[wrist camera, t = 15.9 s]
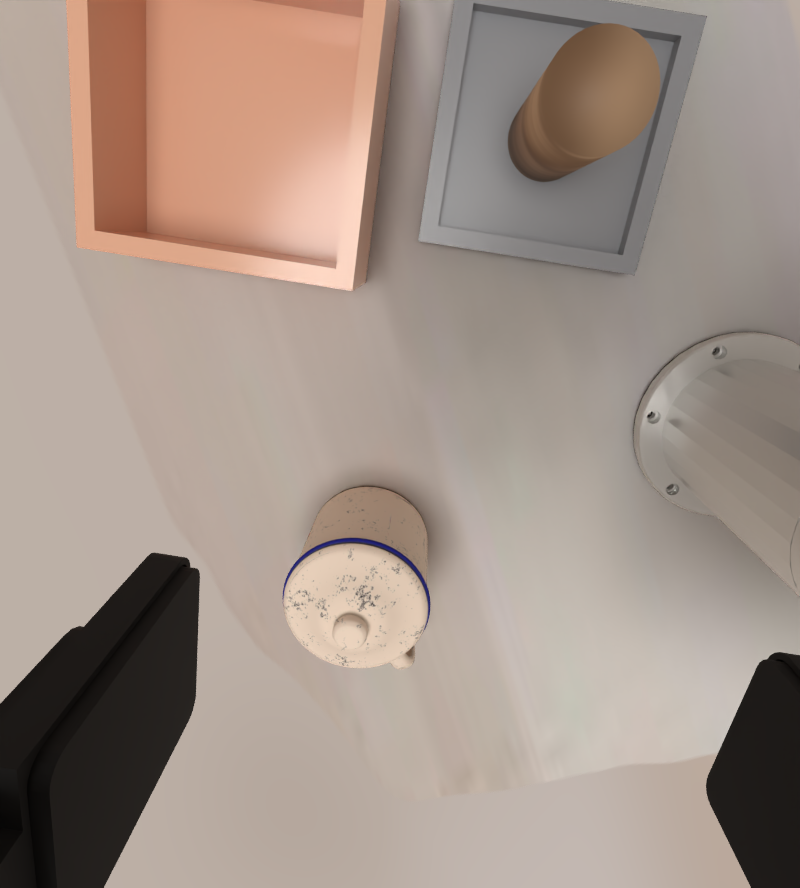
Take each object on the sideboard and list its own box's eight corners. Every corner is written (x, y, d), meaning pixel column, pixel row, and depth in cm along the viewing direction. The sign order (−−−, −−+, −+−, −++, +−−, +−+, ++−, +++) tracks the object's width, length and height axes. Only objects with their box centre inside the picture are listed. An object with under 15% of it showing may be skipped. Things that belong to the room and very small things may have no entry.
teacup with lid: (289, 508, 43) (239, 601, 32) (399, 462, 41) (387, 544, 30) (360, 632, 46) (337, 754, 35) (464, 594, 44) (475, 711, 33)
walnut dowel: (597, 100, 32) (675, 33, 22) (576, 187, 33) (640, 163, 23) (517, 87, 32) (557, 14, 22) (500, 175, 33) (530, 146, 23)
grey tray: (690, 29, 31) (706, 16, 30) (624, 273, 36) (634, 275, 34) (456, -8, 31) (458, -24, 30) (419, 241, 36) (418, 241, 34)
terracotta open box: (400, 5, 32) (391, -51, 26) (365, 282, 37) (352, 291, 31) (133, -37, 32) (61, -103, 26) (135, 246, 37) (76, 247, 31)
